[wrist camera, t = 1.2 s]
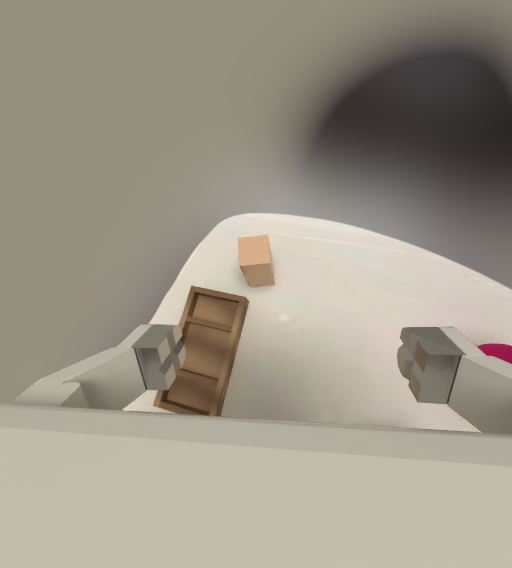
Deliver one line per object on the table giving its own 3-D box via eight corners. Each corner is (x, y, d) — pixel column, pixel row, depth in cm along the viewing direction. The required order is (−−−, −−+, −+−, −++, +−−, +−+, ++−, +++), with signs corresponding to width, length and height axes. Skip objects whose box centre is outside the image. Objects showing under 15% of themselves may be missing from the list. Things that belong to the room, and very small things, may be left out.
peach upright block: (274, 284, 42) (270, 262, 33) (250, 287, 42) (239, 265, 33) (272, 262, 43) (267, 234, 34) (249, 264, 44) (238, 238, 34)
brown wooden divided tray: (218, 419, 37) (212, 424, 34) (163, 402, 39) (153, 405, 36) (248, 301, 42) (245, 297, 39) (198, 290, 43) (191, 285, 40)
